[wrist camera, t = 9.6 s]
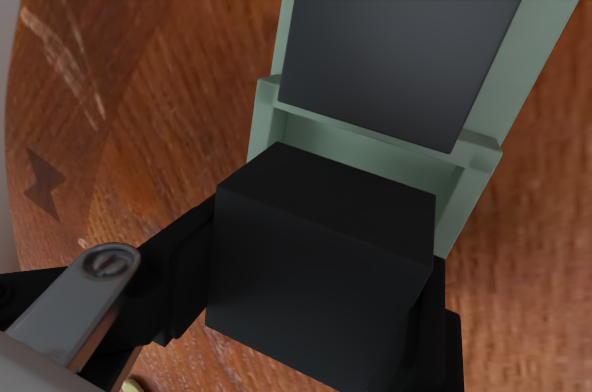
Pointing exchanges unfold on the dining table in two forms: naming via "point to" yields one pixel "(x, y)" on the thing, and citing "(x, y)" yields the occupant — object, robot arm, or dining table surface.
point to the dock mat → (412, 157)
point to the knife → (131, 386)
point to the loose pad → (317, 262)
